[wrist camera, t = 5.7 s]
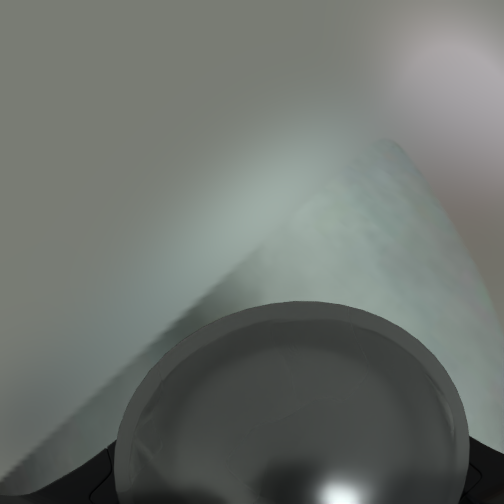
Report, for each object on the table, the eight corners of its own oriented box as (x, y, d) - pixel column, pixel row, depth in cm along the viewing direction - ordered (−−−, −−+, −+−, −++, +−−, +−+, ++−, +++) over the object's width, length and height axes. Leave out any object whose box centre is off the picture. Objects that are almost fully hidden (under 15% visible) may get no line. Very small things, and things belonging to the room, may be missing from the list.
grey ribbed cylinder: (350, 491, 8) (462, 576, 1) (212, 497, 8) (118, 599, 2) (345, 367, 10) (454, 279, 4) (212, 372, 11) (116, 293, 4)
